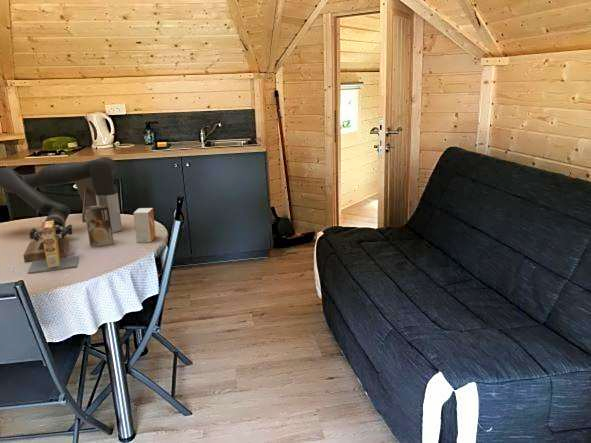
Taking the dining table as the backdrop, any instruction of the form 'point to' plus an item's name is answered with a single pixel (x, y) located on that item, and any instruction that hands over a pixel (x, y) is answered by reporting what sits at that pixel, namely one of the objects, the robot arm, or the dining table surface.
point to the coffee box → (98, 225)
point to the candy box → (50, 244)
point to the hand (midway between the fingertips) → (49, 237)
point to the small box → (144, 224)
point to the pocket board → (36, 252)
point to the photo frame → (86, 193)
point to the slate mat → (43, 267)
